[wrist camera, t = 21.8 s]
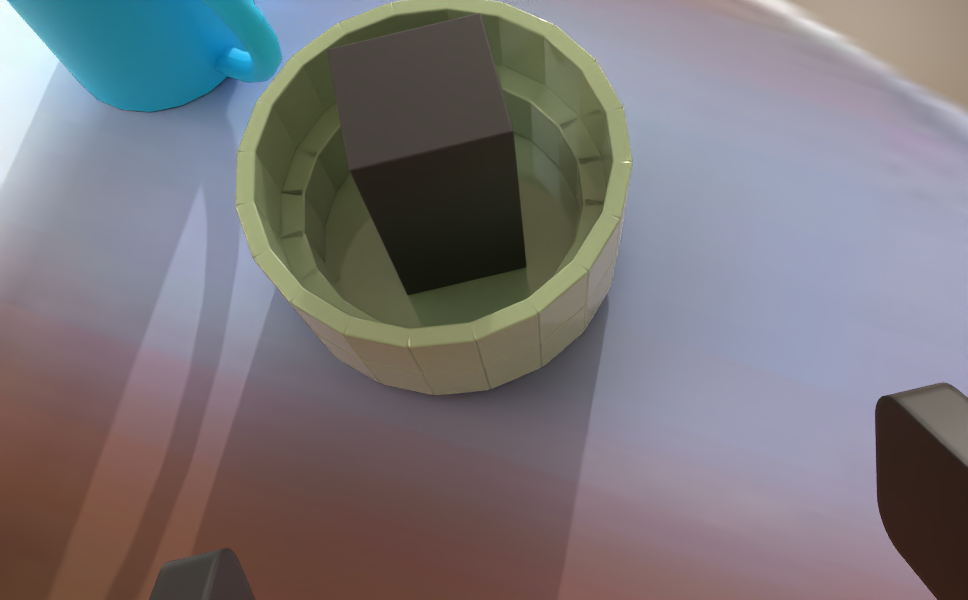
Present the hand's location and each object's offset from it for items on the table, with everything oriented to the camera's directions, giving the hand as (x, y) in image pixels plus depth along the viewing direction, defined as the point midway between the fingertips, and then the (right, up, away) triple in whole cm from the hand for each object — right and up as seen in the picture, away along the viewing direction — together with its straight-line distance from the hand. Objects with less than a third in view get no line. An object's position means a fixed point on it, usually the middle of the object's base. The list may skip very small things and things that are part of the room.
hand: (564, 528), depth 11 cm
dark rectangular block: (-2, +5, +21) cm, 21 cm away
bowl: (-2, +5, +21) cm, 22 cm away
